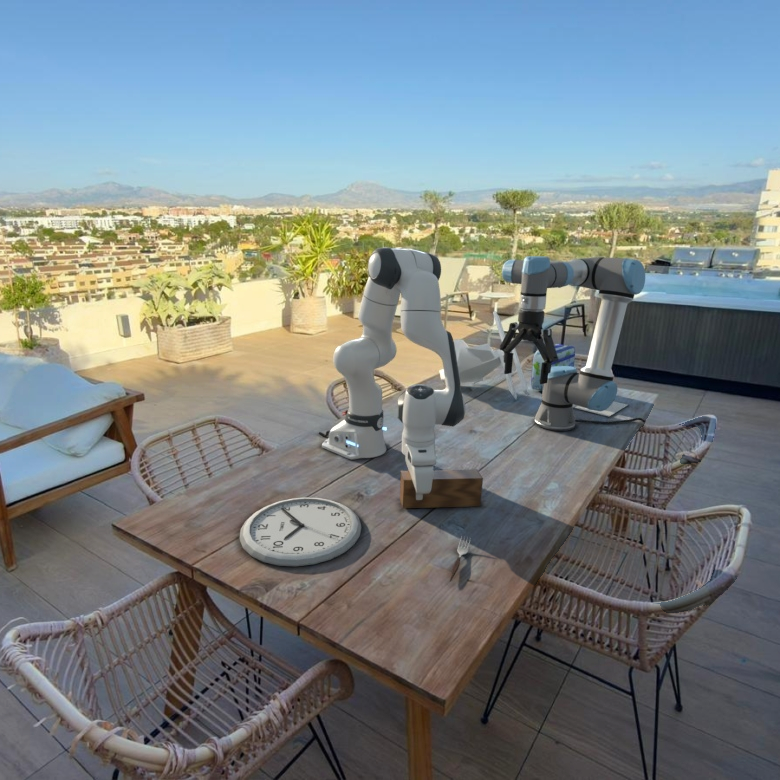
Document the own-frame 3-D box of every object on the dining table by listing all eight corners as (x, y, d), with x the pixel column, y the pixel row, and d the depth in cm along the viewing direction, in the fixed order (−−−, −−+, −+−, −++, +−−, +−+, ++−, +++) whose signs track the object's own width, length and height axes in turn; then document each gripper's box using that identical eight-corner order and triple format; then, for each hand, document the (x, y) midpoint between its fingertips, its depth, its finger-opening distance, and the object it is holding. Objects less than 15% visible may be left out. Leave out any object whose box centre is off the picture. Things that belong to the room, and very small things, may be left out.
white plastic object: (461, 429, 252) (437, 405, 227) (444, 352, 274) (420, 323, 250) (535, 404, 240) (518, 377, 215) (510, 326, 262) (492, 293, 237)
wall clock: (363, 557, 118) (227, 562, 115) (363, 563, 118) (227, 568, 115) (359, 492, 146) (250, 495, 143) (359, 498, 147) (250, 500, 144)
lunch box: (547, 396, 238) (552, 351, 232) (526, 391, 246) (531, 347, 239) (574, 385, 256) (579, 343, 250) (554, 380, 263) (559, 340, 257)
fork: (443, 582, 112) (444, 574, 112) (460, 542, 127) (460, 535, 126) (455, 584, 112) (456, 576, 111) (471, 544, 126) (471, 537, 125)
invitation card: (608, 416, 214) (573, 407, 224) (608, 416, 214) (573, 408, 224) (628, 404, 229) (594, 396, 238) (628, 405, 229) (594, 397, 238)
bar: (474, 496, 149) (477, 469, 146) (480, 506, 144) (483, 478, 141) (399, 498, 146) (401, 470, 144) (402, 508, 141) (404, 479, 138)
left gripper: (400, 431, 148) (399, 475, 153) (412, 462, 129) (411, 512, 133) (422, 431, 149) (421, 474, 153) (437, 461, 130) (435, 511, 134)
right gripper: (491, 305, 163) (486, 371, 169) (560, 316, 144) (551, 390, 151) (507, 303, 167) (501, 367, 174) (576, 314, 149) (567, 385, 155)
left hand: (416, 492), depth 143 cm, fingers open, 5 cm apart
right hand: (525, 378), depth 162 cm, fingers open, 13 cm apart
